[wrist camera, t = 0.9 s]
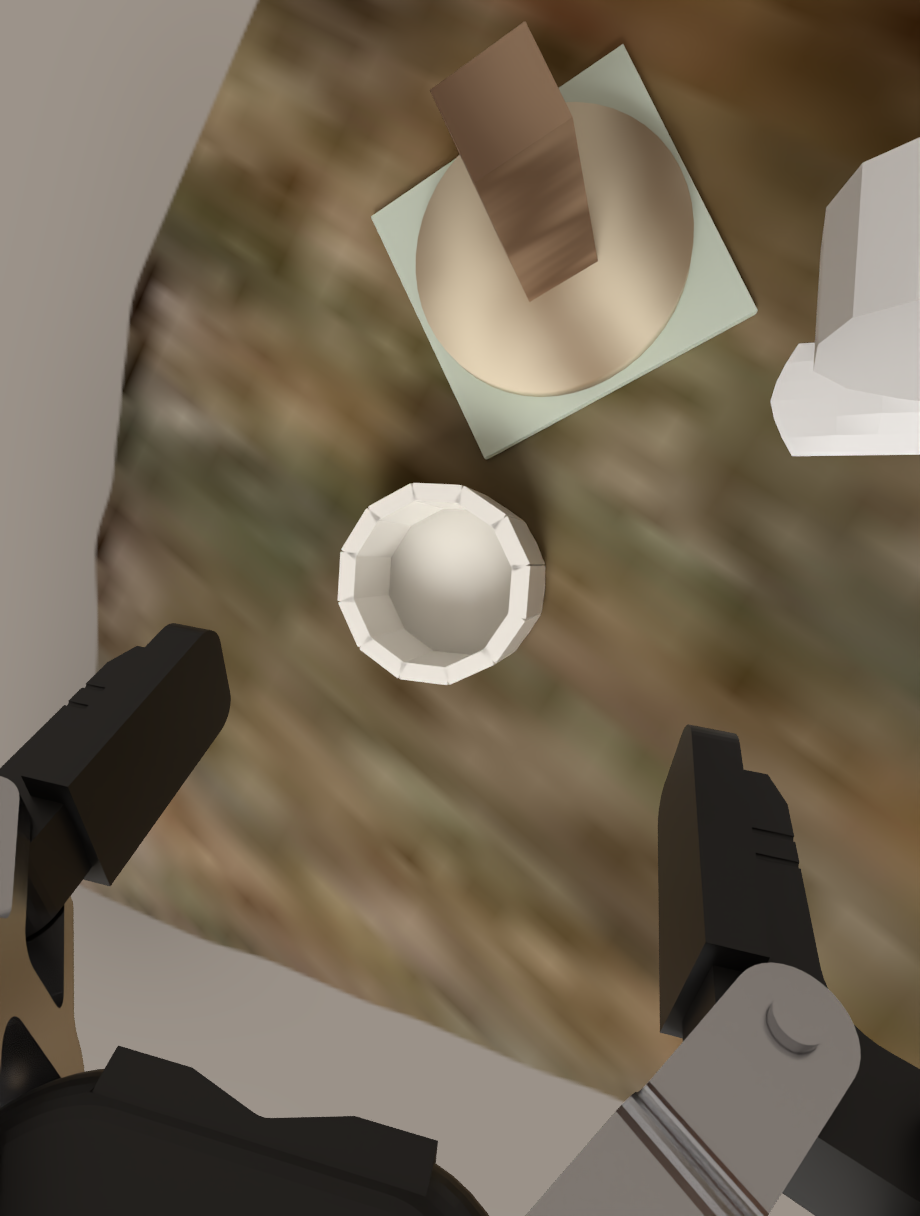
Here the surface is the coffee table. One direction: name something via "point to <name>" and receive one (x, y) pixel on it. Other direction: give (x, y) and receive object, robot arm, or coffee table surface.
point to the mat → (699, 316)
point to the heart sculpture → (862, 322)
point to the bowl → (440, 582)
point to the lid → (548, 230)
